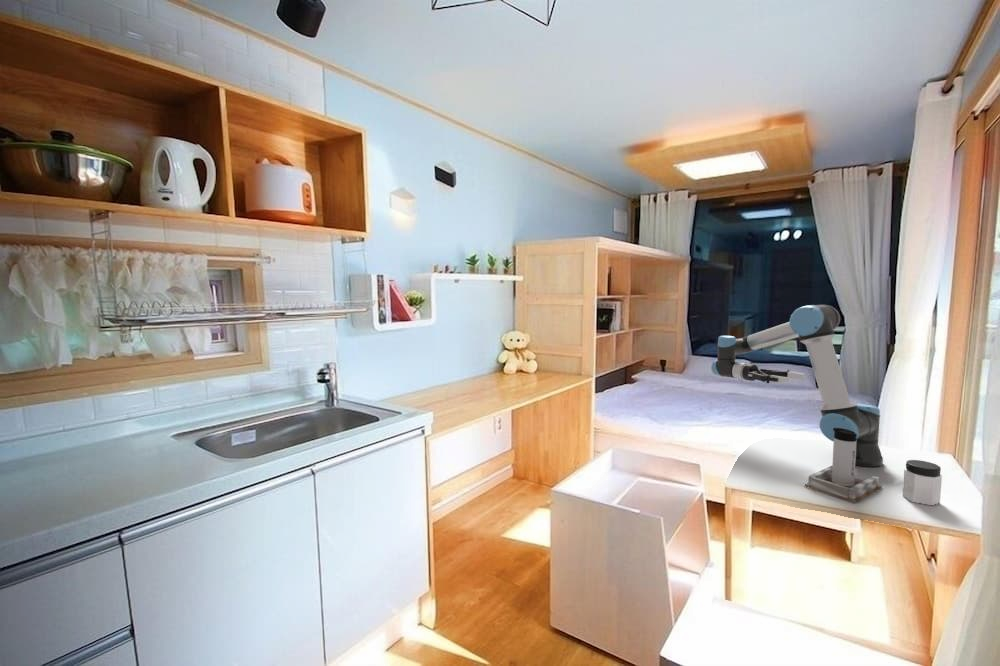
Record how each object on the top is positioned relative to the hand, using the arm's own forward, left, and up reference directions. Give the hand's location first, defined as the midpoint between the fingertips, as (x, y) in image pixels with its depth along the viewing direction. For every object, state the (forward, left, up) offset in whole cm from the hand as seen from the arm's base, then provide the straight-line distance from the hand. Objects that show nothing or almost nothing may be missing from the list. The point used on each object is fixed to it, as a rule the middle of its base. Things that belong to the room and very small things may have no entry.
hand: (795, 378), depth 186 cm
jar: (-13, +43, -32) cm, 55 cm away
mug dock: (+5, +33, -32) cm, 46 cm away
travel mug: (+5, +33, -31) cm, 46 cm away
